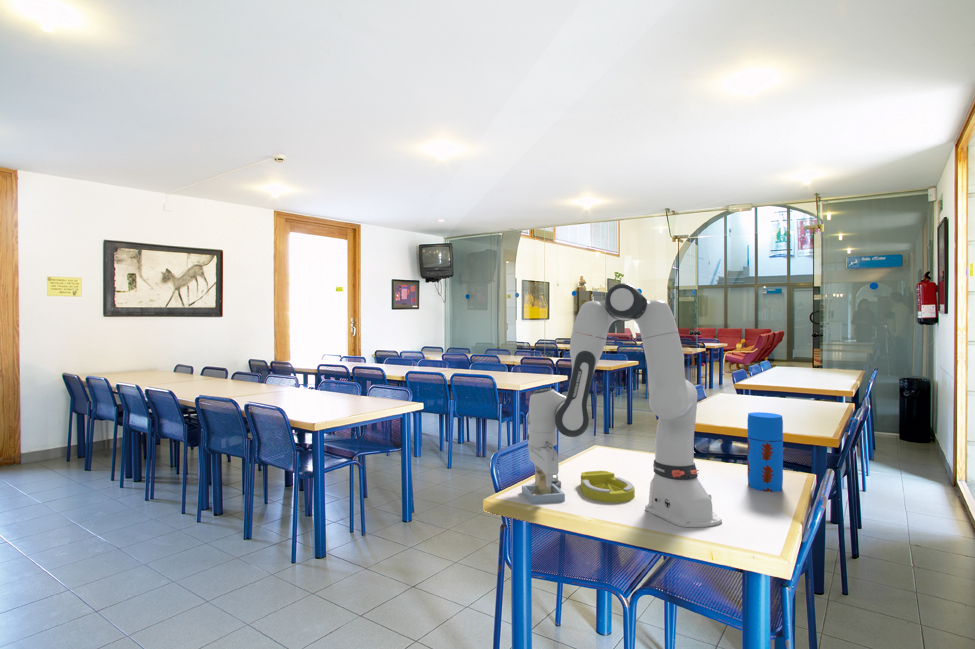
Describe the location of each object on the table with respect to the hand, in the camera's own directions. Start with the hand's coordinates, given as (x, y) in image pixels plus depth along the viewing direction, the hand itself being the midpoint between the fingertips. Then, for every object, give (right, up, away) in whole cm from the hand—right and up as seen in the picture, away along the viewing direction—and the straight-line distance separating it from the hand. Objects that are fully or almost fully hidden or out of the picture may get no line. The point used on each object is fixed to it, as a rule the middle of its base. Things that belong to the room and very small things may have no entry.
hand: (543, 481), depth 172 cm
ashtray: (+21, -6, +5) cm, 23 cm away
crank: (+3, -3, +14) cm, 14 cm away
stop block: (0, -5, 0) cm, 5 cm away
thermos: (+77, -5, +11) cm, 78 cm away
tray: (0, -6, 0) cm, 6 cm away
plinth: (-1, -6, +9) cm, 11 cm away
